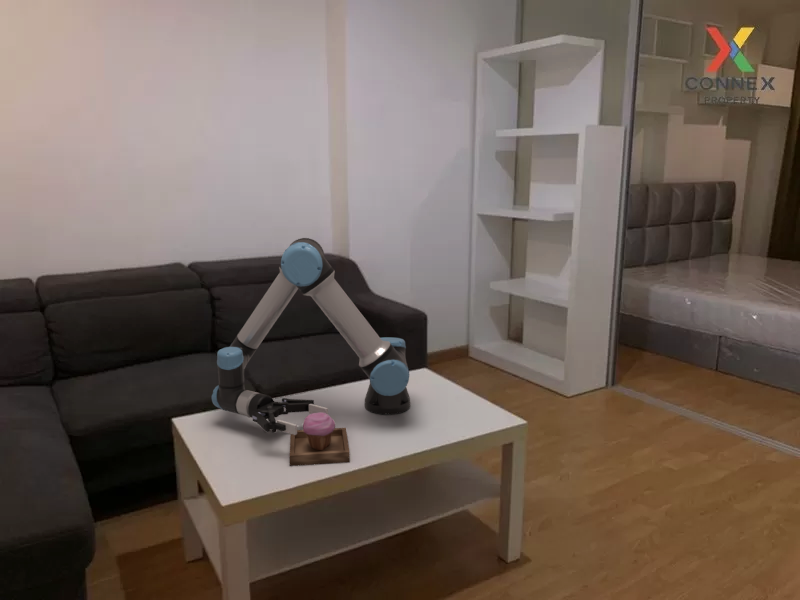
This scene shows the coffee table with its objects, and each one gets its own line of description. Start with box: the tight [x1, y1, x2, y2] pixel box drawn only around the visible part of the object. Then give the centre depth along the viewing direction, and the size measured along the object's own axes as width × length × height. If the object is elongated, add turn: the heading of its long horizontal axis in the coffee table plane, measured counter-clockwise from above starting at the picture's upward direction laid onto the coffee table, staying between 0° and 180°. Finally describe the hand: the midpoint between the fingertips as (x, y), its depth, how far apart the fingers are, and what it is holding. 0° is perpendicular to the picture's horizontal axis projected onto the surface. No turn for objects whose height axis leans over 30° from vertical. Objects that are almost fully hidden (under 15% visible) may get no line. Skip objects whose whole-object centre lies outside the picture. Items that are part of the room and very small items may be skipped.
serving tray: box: [288, 427, 351, 467], centre depth 180 cm, size 16×16×3 cm
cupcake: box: [302, 412, 336, 450], centre depth 180 cm, size 9×9×10 cm
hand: (312, 421), depth 179 cm, fingers open, 13 cm apart
